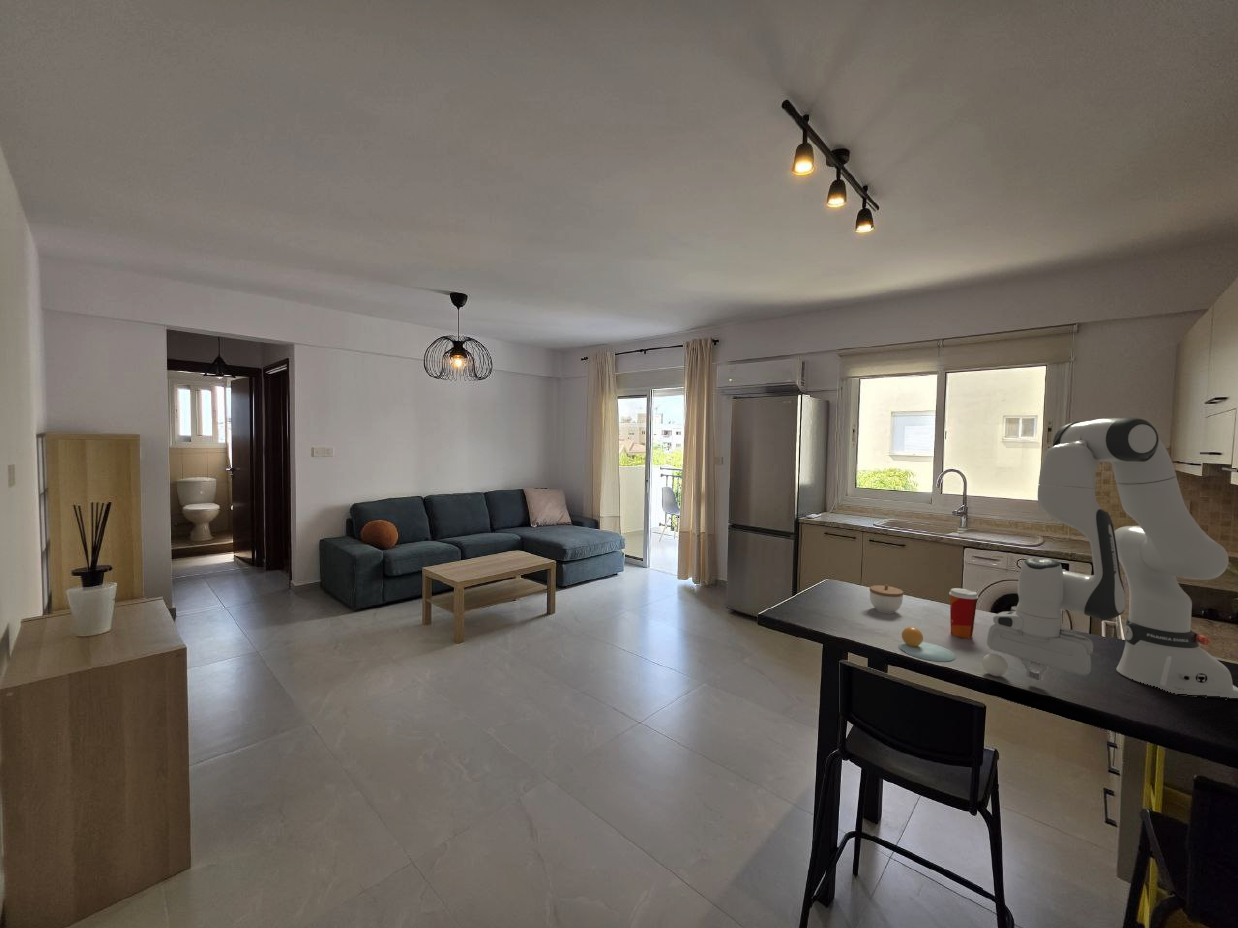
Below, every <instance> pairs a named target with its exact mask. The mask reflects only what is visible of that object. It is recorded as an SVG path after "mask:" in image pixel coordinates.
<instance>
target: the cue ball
mask: <svg viewBox="0 0 1238 928" xmlns="http://www.w3.org/2000/svg"><path fill="white" fill-rule="evenodd" d="M981 666H982V668H983V670H984V671H985V673H987V674H988V675H991V676H994V677H1002V676H1004V675H1006V673H1007V672H1008V670H1009V665H1008V662H1007V660H1006V659H1005V658H1004V657H1003V656H1001V655H999V654H997V653H988V654H986V655H984V657H982V660H981Z"/></svg>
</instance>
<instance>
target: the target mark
mask: <svg viewBox="0 0 1238 928" xmlns="http://www.w3.org/2000/svg"><path fill="white" fill-rule="evenodd" d="M898 646H899V647H898V648H899V649H900V650H901V649H902V650H904V651H905V652H906V653H905V652H904V653H905V654H907V653H908V654H907V655H909V654H910V655H909V656H912V657H914V658H918V659H921V660H925V661H930V660H931V661H930V662H939V663H940V662H943V663H946V662H952V661H955V660H956V654H955V653H954V652H953V651H952V650H950V649H948V648H945V647H943V646H942V645H941V646H940V645H939V644H935V643H930V642H925V641H922V643H921V644H920V645H919V646H916V647H912V646H909V645H907V644H906V643H905V642H904V641H903V642H900V643H899V645H898ZM902 650H901V651H902Z"/></svg>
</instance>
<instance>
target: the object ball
mask: <svg viewBox="0 0 1238 928" xmlns="http://www.w3.org/2000/svg"><path fill="white" fill-rule="evenodd" d="M922 633H923V632H921V631H920V630H919V629H918V628H916V627H913V626H908V627H905V628H904V629H903V630H902V633H901V639H902V641H903V642H905V643H906V644H907V645H909V646H912V647H916V646H919V645H920V644H921V643H922V642H924V641H923V640H924V636H923V634H922Z"/></svg>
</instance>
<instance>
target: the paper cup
mask: <svg viewBox="0 0 1238 928" xmlns="http://www.w3.org/2000/svg"><path fill="white" fill-rule="evenodd" d="M948 594H949V605H950V606H949V607H950V608H949V609H950V610H949V613H950V615H949V616H950V620H949V621H950V634H951V635H952V636H953V637H955V638H956V637H957V638H961V639H972V638H973V634H974V625H975V618H976V611H977V602H978V599H979V596H978V593H977V592H976V591H973V590H970V589H965V588H958V587H955V588H953V587H952V588H951V589H950V591H948Z"/></svg>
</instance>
